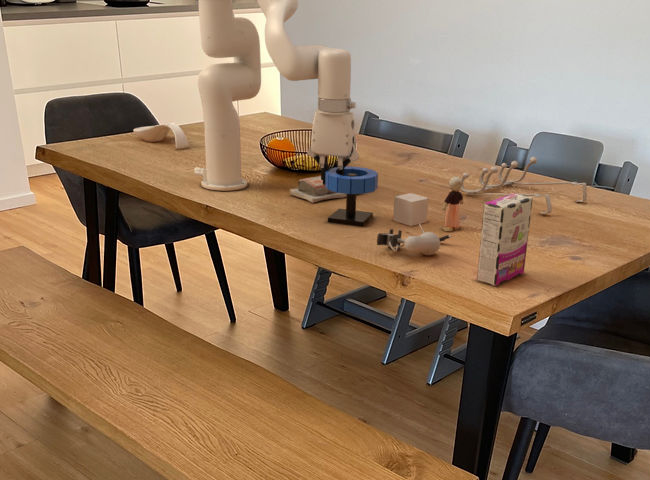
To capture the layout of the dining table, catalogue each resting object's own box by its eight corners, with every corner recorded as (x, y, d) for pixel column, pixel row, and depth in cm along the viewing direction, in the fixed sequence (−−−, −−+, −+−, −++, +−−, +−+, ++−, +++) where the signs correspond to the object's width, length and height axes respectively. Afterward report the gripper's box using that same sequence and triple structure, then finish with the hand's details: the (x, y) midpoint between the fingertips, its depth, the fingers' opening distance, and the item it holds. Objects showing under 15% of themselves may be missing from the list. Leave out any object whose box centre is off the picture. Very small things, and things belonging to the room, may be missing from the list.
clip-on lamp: (415, 249, 194) (371, 250, 180) (418, 222, 193) (374, 221, 178) (458, 256, 188) (416, 257, 173) (461, 227, 186) (420, 227, 172)
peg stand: (327, 222, 201) (328, 176, 196) (338, 213, 208) (340, 168, 203) (362, 226, 199) (364, 180, 193) (372, 217, 206) (375, 172, 201)
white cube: (409, 216, 208) (411, 192, 206) (426, 222, 205) (428, 198, 202) (393, 220, 205) (394, 196, 202) (410, 226, 201) (412, 201, 198)
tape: (319, 190, 196) (319, 175, 194) (334, 179, 206) (335, 164, 205) (369, 196, 193) (369, 180, 191) (382, 184, 204) (383, 169, 202)
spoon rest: (127, 139, 277) (125, 117, 273) (157, 135, 284) (155, 113, 281) (168, 151, 263) (167, 128, 259) (198, 146, 270) (197, 124, 267)
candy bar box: (504, 268, 176) (513, 192, 169) (524, 274, 173) (534, 197, 166) (474, 280, 169) (483, 201, 161) (494, 287, 166) (504, 207, 158)
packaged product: (340, 168, 230) (364, 176, 224) (340, 186, 232) (363, 194, 226) (289, 177, 219) (312, 185, 213) (289, 195, 222) (312, 203, 215)
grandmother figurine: (451, 233, 197) (456, 180, 191) (437, 230, 198) (442, 178, 192) (465, 226, 202) (471, 174, 196) (451, 223, 204) (456, 172, 198)
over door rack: (501, 182, 244) (505, 149, 239) (588, 203, 226) (594, 167, 222) (457, 194, 229) (460, 159, 225) (547, 217, 212) (552, 179, 208)
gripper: (371, 106, 194) (368, 184, 202) (306, 100, 197) (306, 177, 206) (362, 111, 187) (359, 191, 196) (295, 105, 191) (295, 184, 200)
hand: (332, 183), depth 201 cm, fingers closed on tape, 2 cm apart
